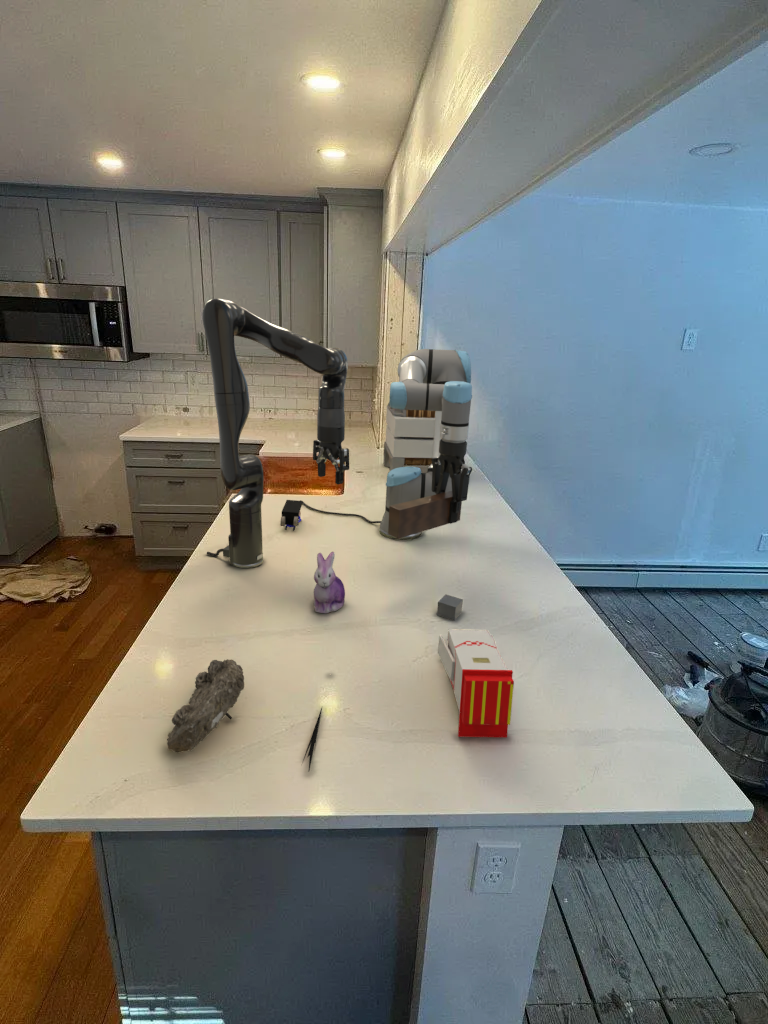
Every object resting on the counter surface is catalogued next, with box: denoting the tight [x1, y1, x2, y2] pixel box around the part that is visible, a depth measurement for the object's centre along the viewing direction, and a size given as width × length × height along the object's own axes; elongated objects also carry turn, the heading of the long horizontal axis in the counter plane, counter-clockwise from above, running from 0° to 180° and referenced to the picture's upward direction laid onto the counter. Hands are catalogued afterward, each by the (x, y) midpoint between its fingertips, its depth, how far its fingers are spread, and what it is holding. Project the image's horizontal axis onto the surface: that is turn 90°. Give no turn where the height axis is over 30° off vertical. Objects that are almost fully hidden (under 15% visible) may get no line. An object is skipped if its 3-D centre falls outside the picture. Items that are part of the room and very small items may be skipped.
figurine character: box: [279, 499, 304, 532], centre depth 202 cm, size 7×8×15 cm
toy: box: [437, 628, 515, 738], centre depth 117 cm, size 12×13×30 cm
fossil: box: [166, 658, 245, 754], centre depth 106 cm, size 22×10×15 cm
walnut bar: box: [388, 491, 463, 539], centre depth 156 cm, size 24×4×8 cm, turn 130°
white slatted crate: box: [383, 402, 435, 472], centre depth 268 cm, size 34×33×41 cm
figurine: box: [313, 551, 346, 614], centre depth 147 cm, size 9×10×15 cm
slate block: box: [436, 593, 464, 621], centre depth 148 cm, size 5×5×4 cm
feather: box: [301, 673, 332, 771], centre depth 108 cm, size 2×28×2 cm
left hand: (330, 480), depth 161 cm, fingers open, 8 cm apart
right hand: (446, 519), depth 162 cm, fingers closed on walnut bar, 4 cm apart
